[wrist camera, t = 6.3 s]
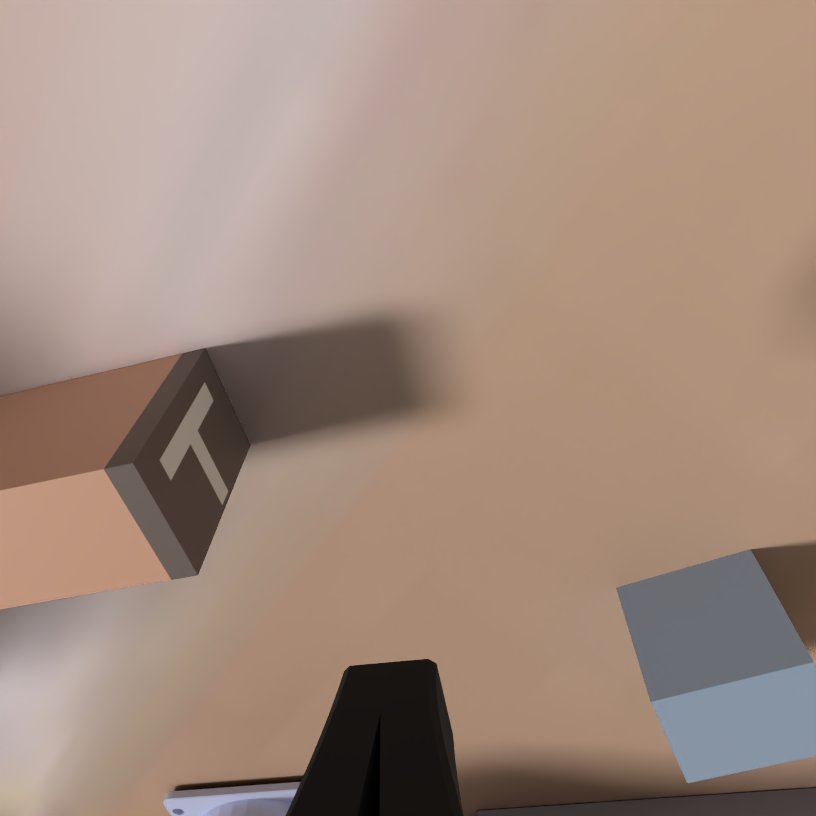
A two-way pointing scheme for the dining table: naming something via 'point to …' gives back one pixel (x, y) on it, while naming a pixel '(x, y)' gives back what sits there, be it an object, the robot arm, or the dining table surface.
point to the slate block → (723, 667)
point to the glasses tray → (685, 806)
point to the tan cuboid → (114, 478)
